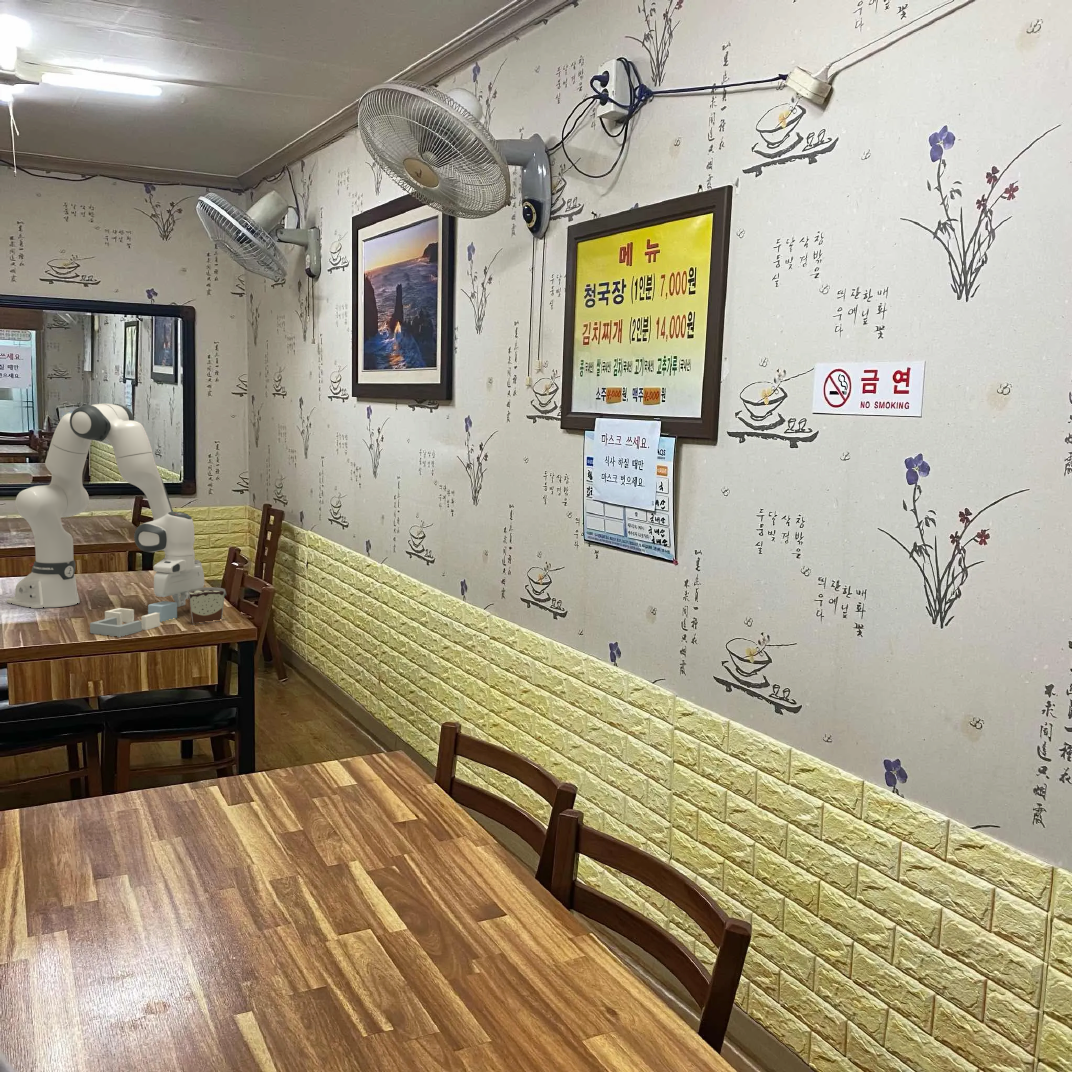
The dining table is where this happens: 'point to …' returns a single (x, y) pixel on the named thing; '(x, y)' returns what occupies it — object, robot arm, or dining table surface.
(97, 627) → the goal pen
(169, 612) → the block
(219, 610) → the food container
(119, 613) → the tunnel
